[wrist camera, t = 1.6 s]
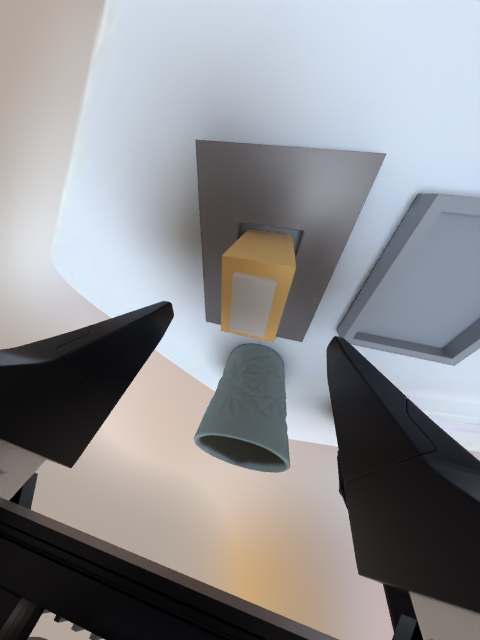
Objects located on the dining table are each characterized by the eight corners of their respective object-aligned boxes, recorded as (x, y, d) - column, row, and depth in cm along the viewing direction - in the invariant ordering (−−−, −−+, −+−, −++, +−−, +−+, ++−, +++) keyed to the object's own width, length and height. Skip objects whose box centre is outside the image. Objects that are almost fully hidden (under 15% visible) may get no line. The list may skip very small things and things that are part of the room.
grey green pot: (290, 342, 22) (291, 449, 13) (288, 386, 28) (288, 481, 19) (219, 339, 25) (179, 426, 16) (231, 379, 31) (207, 460, 22)
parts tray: (440, 350, 18) (454, 365, 17) (336, 330, 20) (341, 342, 18) (612, 212, 10) (669, 216, 9) (418, 193, 12) (438, 194, 10)
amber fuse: (278, 291, 18) (273, 348, 12) (243, 284, 19) (218, 336, 12) (292, 235, 15) (296, 271, 8) (248, 229, 15) (218, 258, 9)
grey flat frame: (301, 333, 21) (302, 341, 20) (210, 314, 23) (206, 321, 21) (376, 157, 11) (386, 153, 10) (203, 144, 13) (195, 139, 11)
